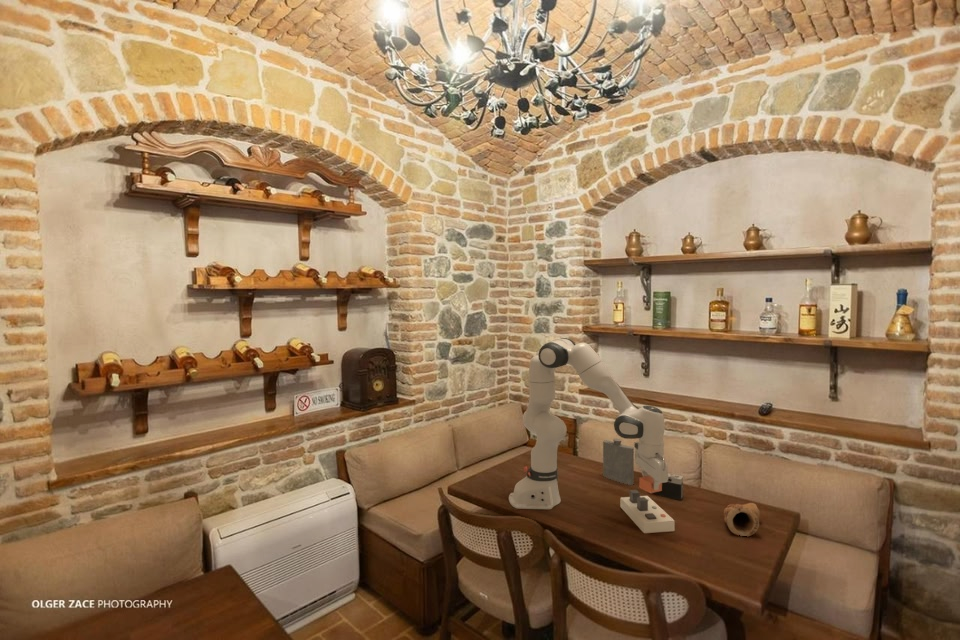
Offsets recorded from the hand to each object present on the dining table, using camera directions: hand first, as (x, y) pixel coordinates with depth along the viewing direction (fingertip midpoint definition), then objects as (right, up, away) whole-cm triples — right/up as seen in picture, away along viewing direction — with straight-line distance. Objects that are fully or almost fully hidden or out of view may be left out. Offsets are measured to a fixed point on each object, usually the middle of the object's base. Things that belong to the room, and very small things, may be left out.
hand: (650, 484), depth 179 cm
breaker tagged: (0, -16, +1) cm, 16 cm away
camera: (+18, -15, +30) cm, 38 cm away
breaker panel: (+1, -16, +8) cm, 18 cm away
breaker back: (-1, -12, +15) cm, 19 cm away
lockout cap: (0, -2, 0) cm, 2 cm away
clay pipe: (+35, -16, -1) cm, 39 cm away
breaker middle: (0, -13, +8) cm, 15 cm away
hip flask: (+1, -14, +46) cm, 48 cm away
